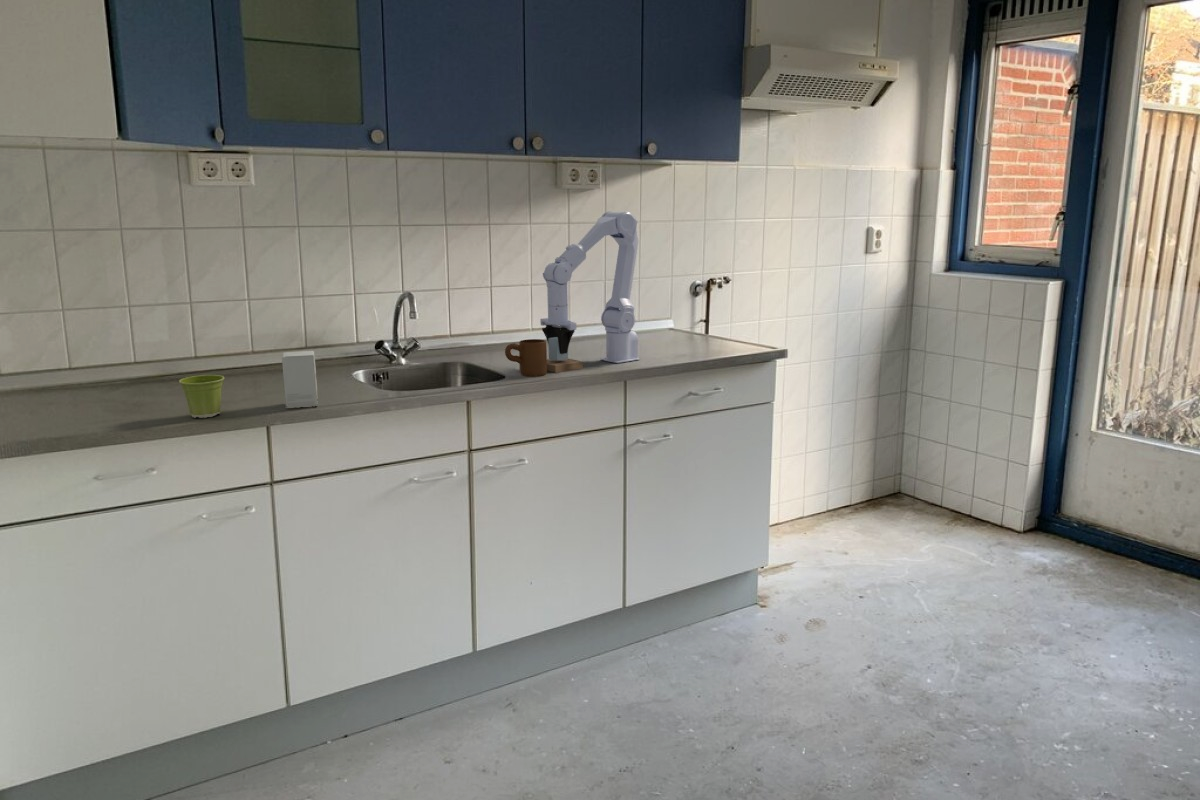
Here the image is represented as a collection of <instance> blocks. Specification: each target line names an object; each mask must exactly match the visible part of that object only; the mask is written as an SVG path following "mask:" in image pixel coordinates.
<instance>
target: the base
mask: <svg viewBox="0 0 1200 800" xmlns="http://www.w3.org/2000/svg"><path fill="white" fill-rule="evenodd" d="M582 368H583V369H584V361H581V360H578V359H573V358H568V359H564V360H558V361H557V360H552V359H549V358H547V372H550V373H554V372H555V373H554V374H556V373H563V371H564V372H569V370H570V371H576V370H582Z"/></svg>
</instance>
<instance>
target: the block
mask: <svg viewBox="0 0 1200 800" xmlns="http://www.w3.org/2000/svg"><path fill="white" fill-rule="evenodd" d="M547 345H548V347H547V348H548V359H552V360H557V361H558V360H564V359H569V350H568V351H567V353H565V354H560V351H559V342H558V337H554V338H548V341H547Z"/></svg>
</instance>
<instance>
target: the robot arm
mask: <svg viewBox="0 0 1200 800" xmlns="http://www.w3.org/2000/svg"><path fill="white" fill-rule="evenodd" d="M637 225H638V220H637V219H636V218H635V216H634V215H633V214H632V213H631V212H630V211H605V212H604V213H603V214H602V215H601V216H600V217H598V218H597V221H596V223H595V224H594V225H593V226H592V228H590V229H589V231H588V232H587V233H586V234H585V235H584V237H583V238H582V239H580V241H579V242H578V243H572V244H571V245H570V244H568V245H566V247H565V249H566V250H564V252H563V253H561V255H559V257H556V258H554V262H551V263H548V264H547V265H546V267H545V268H544V272H542V277H543V279H544V281H545V282H546V287H547V288H546V289H547V294H546V295H547V317H544V318H540V321H539V322H540V326H545V327H542V329H541V331H542V333H544V334H543V335H544V336H545V338H546V342H548V338H554V337H558V342H559V351H560V354H565V353H567V351H568V352H569V346H570V343H571V339H572V337H573V335H574V333H575V331H576V330H577V322H574V321H571V320H569V307H568V305H569V304H568V300H569V299H568V295H569V294H568V282H570V281H571V279H572V276H573V275H572V274H573V272H574V271H575V270H576V269H577V268H578V267H579V266H580V265H581V264H582V263H583V262H584V261H585V260H586V259H587V252H589V250H591V249H592V248H593V247H594V246H595V245H597V243H599V242H600V241H602V239H603V238H604V237H607V236H610V237H611V238H613V239H614V240H615V242H616V243H617V244H618V250H617V256H616V257H617V258H616V265H615V270H614V273H615V274H614V278H613V286H612V293H611V297H610V299H609V300H607V302H606V303H605V306H604V310H603V312H602V313H601V316H600V318H601V319H600V320H601V321H600V322H601V324H602V326H603V327H605V328H604V330H605V336H606V337H605V340H606V342H605V347H606V348H605V349H606V350H605V351H606V352H605V354H606V357H601V358H600V361H604V362H609V363H615V364H620V363H627V362H632V361H639V360H640V359H641V358H640V357H639V337H638V334H637V332H636V331H634V330H632V329H633V328H634V326H635V323H636V318H635V317H636V316H635V306H634V305H633V303H632V302H631V294H632V293H631V291H632V288H633V287H632V286H633V281H634V273H635V267H636V261H637V254H638V246H639V237H638V236H639V235H638V232H637Z"/></svg>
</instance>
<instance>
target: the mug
mask: <svg viewBox="0 0 1200 800" xmlns="http://www.w3.org/2000/svg"><path fill="white" fill-rule="evenodd" d="M511 350H515V351H518V354H519V355H513V354H512V351H511ZM547 352H548V351H547V340H544V339H540V338H539V339H538V338H537V339H536V338H535V339H534V338H533V339H530V338H529V339H523V340H520V341H519V343H518V344H517V343H509V344H508V345H507V346H506V347H505V348H504V355H505V357H506V358H507V360H509V361H510V362H515V363H518V364H519V373H520V375H521V376H524V377H542V376H545V375H546V374H547V372H548V371H547V359H548V356H547V355H548V354H547Z"/></svg>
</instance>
